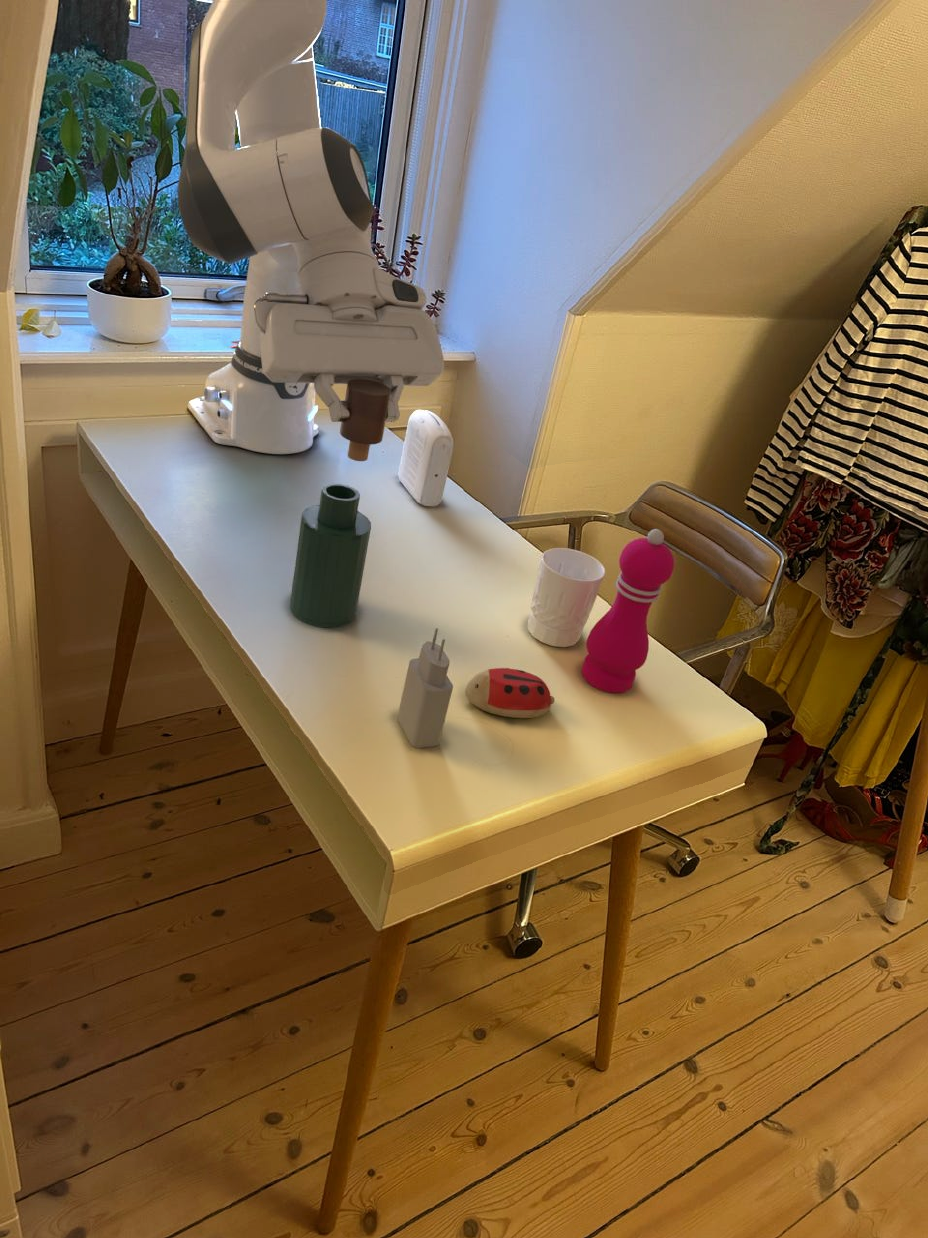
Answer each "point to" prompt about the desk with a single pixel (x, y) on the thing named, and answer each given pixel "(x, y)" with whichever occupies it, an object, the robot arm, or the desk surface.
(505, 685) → the ladybug figurine
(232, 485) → the desk surface
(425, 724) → the power adapter
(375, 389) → the stopper
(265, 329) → the robot arm
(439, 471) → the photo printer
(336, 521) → the bottle
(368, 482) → the desk surface
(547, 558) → the white cup
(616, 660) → the pepper mill
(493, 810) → the desk surface
